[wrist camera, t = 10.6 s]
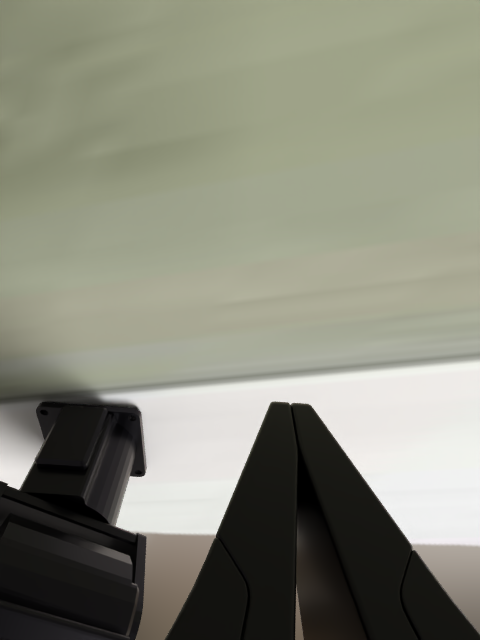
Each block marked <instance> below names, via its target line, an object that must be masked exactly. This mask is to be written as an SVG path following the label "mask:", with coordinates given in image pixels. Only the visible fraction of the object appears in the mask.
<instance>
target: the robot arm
mask: <svg viewBox="0 0 480 640" xmlns="http://www.w3.org/2000/svg"><path fill="white" fill-rule="evenodd" d="M36 413H37V416H38V420H39V423H40V426H41V430H42V433H43V436H44V439H45V441H44V443H43V445H42V447H41V449H40V451H39V452H38V454H37V456H36V458H35V461H34V463H33V465H32V467H31V469H30V471H29V472H28V474H27V476H26V478H25V480H24V482H23V484H22V486H21V488H20V489H19V490H17V489H15V488H12V487H9V486H7V485H8V484H7V483H4V482H2V481H0V640H135V638H136V635H137V632H138V628H139V624H140V620H141V615H142V609H143V596H144V576H145V555H146V536H144V535H142V534H139V533H137V534H134V533H131V532H129V531H126V530H123V529H121V528H118V527H115V525H116V522H117V518H118V515H119V512H120V508H121V505H122V501H123V498H124V494H125V491H126V487H127V484H128V480H129V477H130V476H135V477H142V476H144V475H145V473H146V469H147V467H146V456H145V446H144V436H143V425H142V415H141V412H140V411H139V410H138V409H135V408H124V407H109V406H95V405H80V404H65V403H50V402H42V403H40V404H39V406H38V408H37V409H36ZM296 585H297V593H298V599H299V607H300V615H301V622H302V629H303V637H304V640H480V633H479V632H478V631H477V630H476V628H475V627H474V626H473V625H472V624H471V623H470V621H469V620H468V619H467V617H466V616H465V615H464V614H463V613H462V611H460V609H459V608H458V607H457V605H456V604H455V603H454V602H453V600H452V599H451V598H450V596H449V595H448V594H447V592H446V591H445V590H444V588H443V587H442V586H441V584H440V583H439V582H438V580H437V579H436V578H435V576H434V575H433V574H432V573H431V571H430V570H429V569H428V567H427V566H426V564H425V563H424V561H423V560H422V559H421V557H420V556H419V555H418V553H417V552H416V551H415V550H412V545H411V544H410V542H409V541H408V539H407V538H406V537H405V535H404V534H403V532H402V531H401V530H400V528H399V527H398V525H397V524H396V523H395V521H394V520H393V519H392V517H391V516H390V514H389V513H388V512H387V510H386V509H385V507H384V506H383V505H382V503H381V502H380V501H379V499H378V498H377V496H376V495H375V494H374V492H373V491H372V489H371V488H370V487H369V485H368V484H367V482H366V481H365V480H364V478H363V477H362V476H361V474H360V473H359V471H358V470H357V469H356V467H355V466H354V464H353V463H352V462H351V460H350V459H349V458H348V456H347V455H346V453H345V452H344V451H343V449H342V448H341V446H340V445H339V444H338V442H337V441H336V439H335V438H334V437H333V435H332V434H331V433H330V431H329V430H328V428H327V427H326V426H325V424H324V423H323V421H322V420H321V419H320V417H319V416H318V415H317V413H316V412H315V410H314V409H313V408H312V406H311V405H309V404H302V403H292V404H291V405H290V404H289V403H287V402H271V404H270V406H269V408H268V411H267V413H266V415H265V418H264V420H263V423H262V425H261V427H260V430H259V432H258V435H257V437H256V440H255V442H254V444H253V447H252V449H251V452H250V454H249V456H248V459H247V461H246V464H245V466H244V469H243V471H242V473H241V476H240V478H239V481H238V483H237V486H236V488H235V490H234V493H233V495H232V498H231V500H230V502H229V505H228V507H227V510H226V512H225V515H224V517H223V519H222V522H221V524H220V527H219V529H218V532H217V534H216V538H215V539H214V541H213V543H212V546H211V548H210V550H209V553H208V555H207V558H206V560H205V562H204V564H203V566H202V569H201V571H200V573H199V575H198V577H197V580H196V582H195V584H194V586H193V588H192V590H191V592H190V594H189V596H188V598H187V600H186V602H185V604H184V605H183V607H182V609H181V611H180V613H179V615H178V617H177V619H176V621H175V622H174V624H173V626H172V628H171V629H170V631H169V633H168V635H167V637H166V638H165V640H295V611H296V610H295V609H296Z"/></svg>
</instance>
